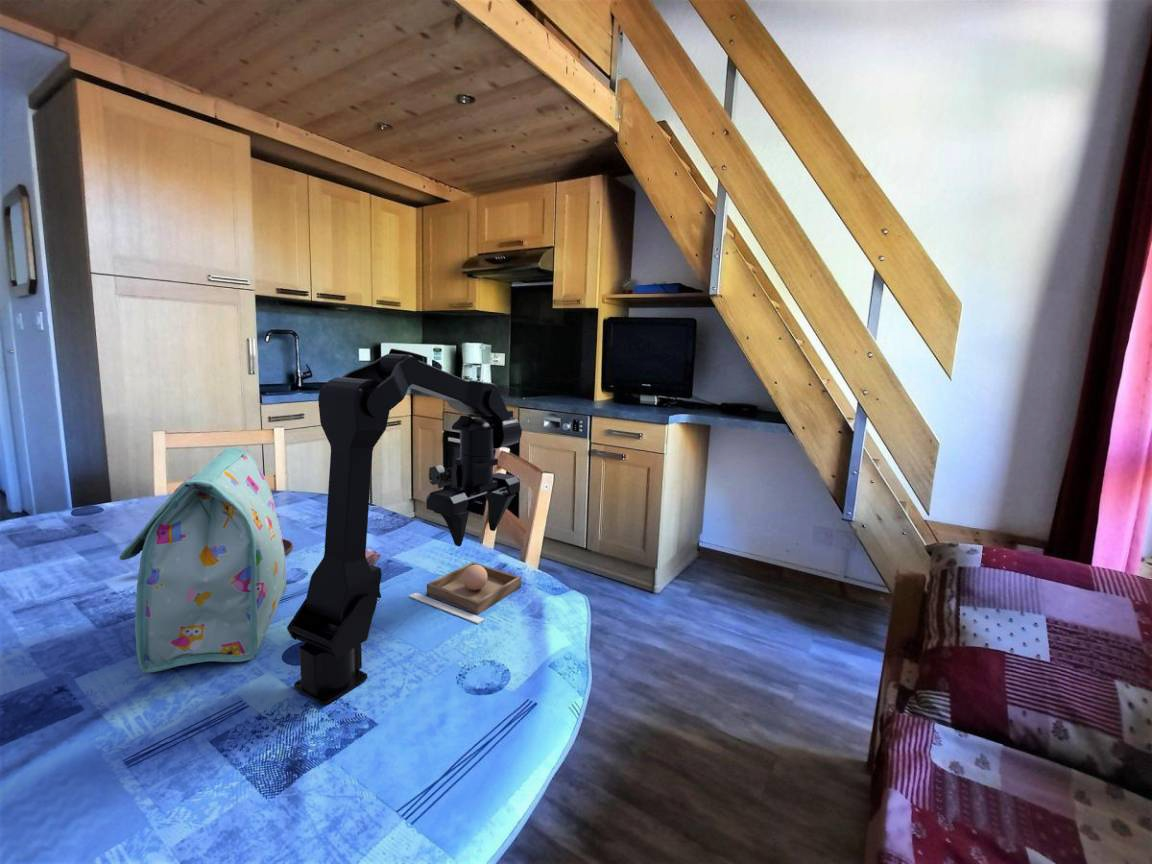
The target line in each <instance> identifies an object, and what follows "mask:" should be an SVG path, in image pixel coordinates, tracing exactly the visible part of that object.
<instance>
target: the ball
mask: <svg viewBox="0 0 1152 864" xmlns="http://www.w3.org/2000/svg"><path fill="white" fill-rule="evenodd" d="M462 580H463V583H464V585H465V586H466V587H467V588H468V589H470V590H479V589H481V588H482V587H483V586H484V585H485V584H486V582H487V572H486V570H485V569H484V568H483V567H482V566H480V565H471V566H469V567H468V568H467V569H466V570H465V571H464V573H463V577H462Z"/></svg>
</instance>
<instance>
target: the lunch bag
mask: <svg viewBox="0 0 1152 864" xmlns="http://www.w3.org/2000/svg"><path fill="white" fill-rule="evenodd" d="M276 510H277V509H276V505H275V501H274V497H273V493H272V490H271V488H270V484H269V482H268V481H267V479H266V476H265V475H264V474H263V472H262V470H261V469H260V467H259V465H258V463H257V461H255V459H254V458H253V456H252V455H251V453H249V452H247V451H245V450H243V449H241V448H237V447H233V446H230V447H226V448H225V449H224V450H223V451H222V452H221V453H219V454H218V455H217V456H216V457H215V458H213V459H212V460H211V461H209V462H208V463H207V464H206V465H205V466H203V467H202V468H201V469H200V470H198V471H197V472H196V473H195V474H193V475H191V476H190V477H188V478H187V479H186V480H184V481H183V482H182V483H181V484H180V485H178V487H176V489H175V490H174V491H173V492H172V493H171V495H170V496H169V497H168V498H167V499H166V500H165V501H164V502H163V504H162V505H160V507H159V508H158V509H157V510H156V511H155V513H154V514H153V516H151V518H150V519H149V521H148V522H147V523H146V525H145V526H144V527H143V528H142V529H141V530H140V532H139V533H138V534H137V535H136V536H135V538H134V539H132V541H131V542H130V543H129V544H128V545H127V546H126V547H125V549H123V551H122V552H121V553H120V554H119V557H118V558H119V560H121V561H126V560H129V559H132V558H134V557H136V556H138V555H139V554H140V553H141V554H140V559H139V560H140V561H139V568H138V574H137V583H136V591H135V592H136V594H135V595H136V596H135V599H136V600H135V615H134V616H135V618H134V630H135V631H134V633H135V647H136V648H135V650H136V651H135V653H136V658H137V664H138V667H140V669H141V672H142V673H156V672H161V671H165V670H169V669H172V668H177V667H181V666H187V665H192V664H199V663H205V662H221V663H222V662H223V663H240V662H246V661H250V660H252V659H254V658H255V656H256V655H257V652H258V651H259V649H260V646H261V644H262V642H263V639H264V637H265V635H266V633H267V630H268V629H269V626H270V624H271V623H272V620H273V618H274V615H275V613H276V612H277V609H278V607H279V603H280V601H281V599H282V597H283V595H284V593H285V592H286V590H287V564H286V563H287V562H286V556H285V553H284V551H285V547H284V546H283V540H282V539H283V535H282V532H281V527H280V521H279V518H278V513H277V511H276Z"/></svg>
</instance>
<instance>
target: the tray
mask: <svg viewBox="0 0 1152 864" xmlns="http://www.w3.org/2000/svg"><path fill="white" fill-rule="evenodd" d="M471 565H480V566H482V567H483V568H484V569H485V570H486V572H487V582H486V584H485V585H484V586H483V587H482V588H481V589H479V590H470V589H468V588H467V587H466V586H465V585H464V583H463V580H462V577H463V573H464V571H465V570H466V569H467V568H468V567H469V566H471ZM521 587H522V577H521V576H518V575H515V574H513V573H512V574H511V573H510V572H509V573H508V572H506V571H503V570H499V569H496V568H493V567H490V566H486V565H483V564H480V563H477V562H475V561H472V562H469V563H467V564H465V565H463V566H461V567H459V568H457V569H455V570H453V571H451V572H449V573H447V574H445V575H443V576H441V577H438V578H436V579H435V580H433V581H430V582H429V583H427V584H426V596H427V597H430V598H433V599H435V600H439V601H440V602H441V601H442V602H443V603H444V602H445V603H446V604H448V605H449V604H450V605H451V606H452V605H453V606H455V607H456V608H459V609H460V608H461V610H464V611H468V612H469V613H472V614H474V615H480V614H481V613H482V612H484V611H486V610H488V609H489V608H491V607H492V606H494V605H495V604H497V603H499V602H500V601H502V600H503V599H505V598H507V597H508V596H509V595H511V594H512V593H514V592H515V591H517V590H519V589H520V588H521ZM501 599H502V600H501Z"/></svg>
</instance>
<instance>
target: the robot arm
mask: <svg viewBox="0 0 1152 864" xmlns="http://www.w3.org/2000/svg"><path fill="white" fill-rule="evenodd" d="M409 388H410V389H413V390H414V391H415V390H416V391H418V392H420V393H424V394H427V395H430V396H433V397H436V398H439V399H442V400H443V401H445V402H446V403H447V404H448V406H449V407H450V408H451V409H453V410H454V411H457V412H458V413H460V414H465V415H460V416H459V418H458V420H456V421H455V422H454V423H453V424H452V425H451V429H452V430H454V431H459V440H460V441H459V457H457V458H454V460H453V466H451V467H448V468H445V467H444V466H443V464H437V465H435V466H432V467H429V469H428V480H429V483H430V484H431V485H432V486H434V485H436V486H437V489H438V490H435V491H431V492H429V493H428V495H427V496H426V500H425V501H426V510H430V511H431V512H433V513H435V514H438V515H439V516H441V517H442V518H443V519H444V522H445V523H446V525H447V528H448V530H449V533H450V535H451V538H452V540H453V543H454V546H456V547H461V546H462V544H463V541H464V536H465V533H466V529H467V528H466V527H467V523H468V518H469V515H470V514H469V513H470V511H469V510H467V508H468V507H469V501H470V500H472V499H475V498H478V497H481V496H484V498H485V499H486V501H487V513H488V515H487V516H488V527H489V530H490V531H491V532H495V531H496V530H497V528H498V526H499V524H500V522H501V520H502V518H503V516H504V515H505V512H506V510H507V509H508V507H509V506H510V503H511V502H512V500H513V498H514V497H516V495H517V494H516V493H519V492H520V491H521V481H520V480H519V478H518V476H516V475H512V474H508V473H503V472H502V473H501V472H494V466H497V465H499V458H495V457H494V450H496V449H500V448H504V447H508V446H512V445H515V444H517V443H518V442H519V441H520V440H521V437H522V434H523V428H522V426H521V423H520V421H519V420H518V419H517V418H516V417H514V410H510V409H507V406H506V404H505V402H504V399H503V397H502V395H501V393H500V392H499V387H498V385H496V384H495V383H494V382H493V383H492V382H486V381H479V380H471V379H470V380H469V379H463V378H461V377H459V376H457V375H454V374H452V373H449V372H447V371H445V370H442V369H439V368H438V367H435V366H432V365H430V364H428V363H426V362H424V361H421V360H419V359H418V358H416V357H415V356H413V355H412V354H403V353H386V354H385V355H382V356H380V357H379V358H377V359H376V360H374V361H373V362H371V363H368V364H365V365H363V366H361V367H359V368H356V369H354V370H351V371H350V372H348V373H346V374H344V375H343V376H340V377H339V376H338V377H334V378H332V379H329V380H327V382H326V383H325V384H324V385H322V386H321V387H320V390H319V392H318V397H317V398H318V401H317V402H318V411H319V422H320V425H321V428H322V430H323V432H324V434H325V436H326V438H327V441H328V443H329V447H330V458H329V459H330V460H329V461H330V462H329V475H328V488H327V489H328V490H327V506H326V507H327V508H326V519H325V520H326V523H325V535H324V536H325V538H324V553H323V557H322V559H321V561H320V562H319V564H318V565H317V567H316V568H315V570H314V571H313V572H312V574H311V576H310V580H309V584H308V588H307V593H306V598H305V599H304V601H303V602H302V604H301V605H300V606H299V608H298V609H297V611H296V613H295V614H294V615H293V617H292V619H291V620H290V622H289V623H288V625H287V626H286V629H287V632H288V634H289V635H290V637H291V639H292V640H296V641H299V642H301V643H303V644H302V645H300V646H299V650H298V651H299V662H300V663H299V666H300V679H299V680H297V681H295V682H294V683H293V688H294V689H295V690H297V691H299V692H300V693H302V694H303V695H305V696H306V697H308V698H309V699H312V700H313V701H314V702H316V703H317V704H319V705H320V706H326V705H327V704H330V703H331V702H334V700H336V699H338V698H339V697H341V696H342V695H344V694H346V693H348V692H349V691H350V690H353V689H354V688H356V686H358V685H360V684H362V683H363V682H365V681H366V680H367V679H368V673H366V672H364V671H362V670H361V669H362V668H363V660H362V658H363V654H362V653H363V652H362V651H363V650H362V645H363V644H364V643H365V642H366V641H367V640H368V637H369V634H370V631H371V630H370V629H371V626H372V622H373V619H374V614H375V611H376V610H377V604H378V599H381V598H382V594H381V589H380V588H381V587H380V586H381V581H382V577H383V576H382V575H383V574H382V569H381V567H378V566H376V565H374V566H372V565H369V563H368V561H367V558H366V551H367V540H368V539H367V537H368V526H369V525H368V523H369V512H370V511H369V509H370V508H369V506H370V493H371V480H372V465H373V464H372V463H373V451H374V447H376V445H377V443H378V442H379V440H380V439H381V437H382V436H383V435H384V433H385V432H386V430H387V426H388V421H389V417H390V411H391V410H392V409H393V408H394V407H396V406H397V405H399V403H401V402H402V401H403V400H404V399H405V397H406V396H407V391H408V389H409ZM446 486H451V488H453V489H449V488H443V487H446ZM454 489H460V490H454Z"/></svg>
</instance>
